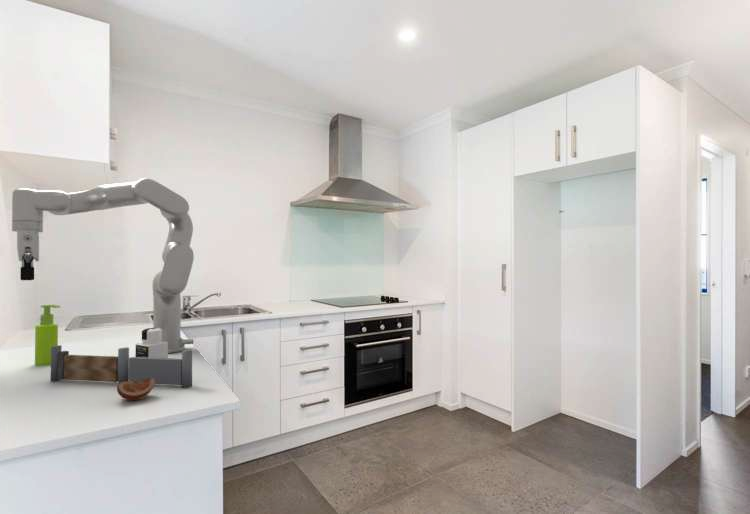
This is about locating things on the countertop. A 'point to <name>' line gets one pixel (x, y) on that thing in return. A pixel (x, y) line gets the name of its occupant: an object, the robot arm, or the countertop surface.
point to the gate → (87, 367)
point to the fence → (143, 368)
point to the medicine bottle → (152, 344)
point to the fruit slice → (135, 388)
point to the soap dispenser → (45, 337)
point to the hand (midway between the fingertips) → (27, 279)
